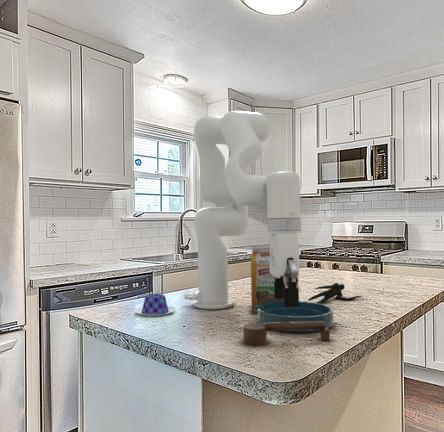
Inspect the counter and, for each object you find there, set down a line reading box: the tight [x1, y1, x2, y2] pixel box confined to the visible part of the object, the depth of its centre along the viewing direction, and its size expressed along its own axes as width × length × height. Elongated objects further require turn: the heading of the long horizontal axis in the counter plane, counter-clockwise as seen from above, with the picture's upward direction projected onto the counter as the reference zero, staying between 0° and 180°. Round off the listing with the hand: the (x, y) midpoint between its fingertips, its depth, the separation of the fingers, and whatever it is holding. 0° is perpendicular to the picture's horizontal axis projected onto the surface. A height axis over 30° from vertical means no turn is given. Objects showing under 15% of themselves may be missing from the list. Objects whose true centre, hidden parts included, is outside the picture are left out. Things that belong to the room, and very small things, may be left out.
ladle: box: [242, 321, 331, 346], centre depth 93 cm, size 19×5×4 cm, turn 93°
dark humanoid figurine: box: [307, 282, 363, 304], centre depth 135 cm, size 8×9×25 cm
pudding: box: [134, 293, 176, 317], centre depth 124 cm, size 12×12×5 cm
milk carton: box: [250, 246, 288, 314], centre depth 126 cm, size 10×11×19 cm
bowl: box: [257, 300, 334, 334], centre depth 109 cm, size 19×19×4 cm
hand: (286, 302), depth 93 cm, fingers open, 9 cm apart
